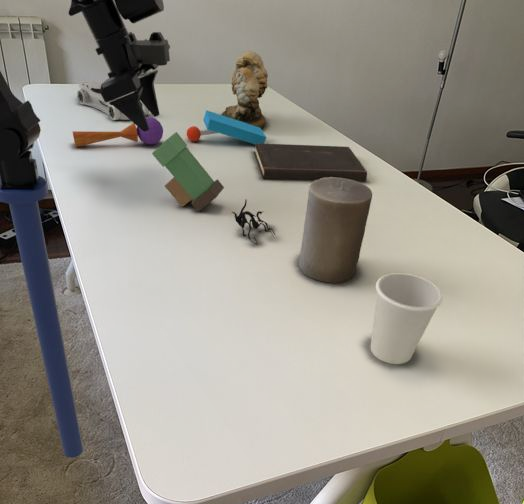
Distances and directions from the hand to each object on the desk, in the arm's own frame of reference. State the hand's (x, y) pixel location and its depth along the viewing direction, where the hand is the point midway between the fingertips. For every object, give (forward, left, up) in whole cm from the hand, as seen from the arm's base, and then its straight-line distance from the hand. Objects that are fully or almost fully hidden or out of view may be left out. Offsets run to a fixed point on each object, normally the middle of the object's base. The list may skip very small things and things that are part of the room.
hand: (152, 123), depth 103 cm
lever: (+18, +27, -12) cm, 35 cm away
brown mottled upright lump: (+25, +43, -12) cm, 51 cm away
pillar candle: (+27, -33, -12) cm, 45 cm away
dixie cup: (+30, -55, -12) cm, 64 cm away
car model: (-10, +52, -12) cm, 54 cm away
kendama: (-7, +23, -12) cm, 27 cm away
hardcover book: (+35, +11, -12) cm, 39 cm away
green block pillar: (+6, -9, -12) cm, 16 cm away
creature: (+17, -21, -12) cm, 30 cm away
